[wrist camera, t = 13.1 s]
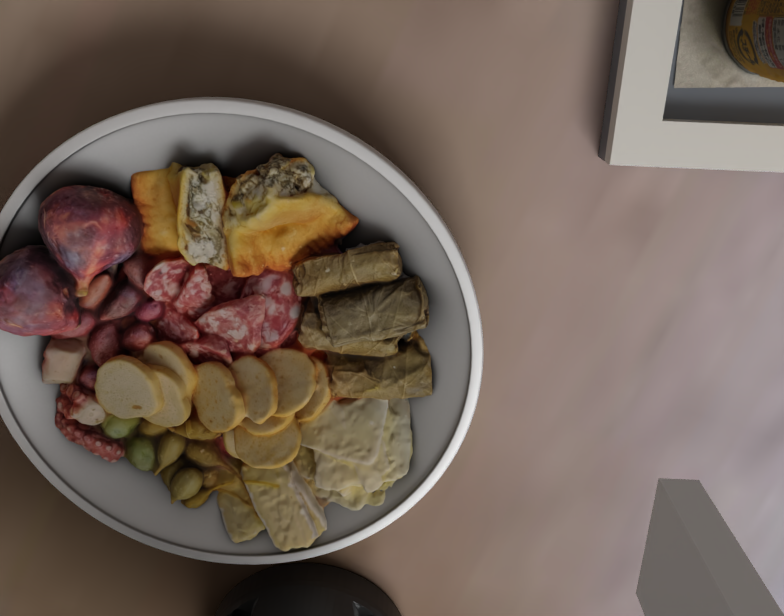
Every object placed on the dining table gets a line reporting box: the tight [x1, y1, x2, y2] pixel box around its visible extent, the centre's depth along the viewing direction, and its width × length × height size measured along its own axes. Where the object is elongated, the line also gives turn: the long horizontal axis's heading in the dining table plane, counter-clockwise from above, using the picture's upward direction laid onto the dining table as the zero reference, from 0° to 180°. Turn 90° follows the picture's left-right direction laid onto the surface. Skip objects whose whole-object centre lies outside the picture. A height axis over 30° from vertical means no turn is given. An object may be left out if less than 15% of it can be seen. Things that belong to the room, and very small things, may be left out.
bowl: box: [0, 97, 484, 565], centre depth 45 cm, size 30×30×8 cm
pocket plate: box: [598, 0, 784, 172], centre depth 40 cm, size 16×16×3 cm
